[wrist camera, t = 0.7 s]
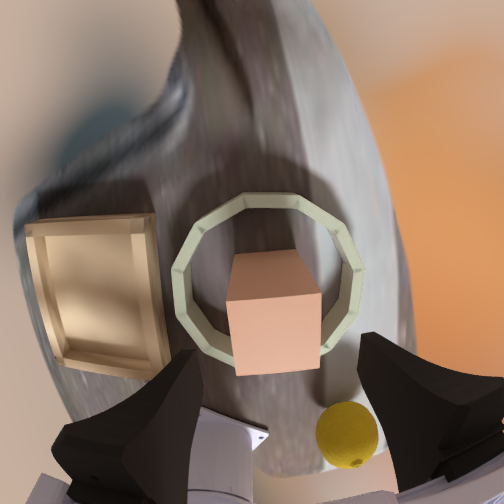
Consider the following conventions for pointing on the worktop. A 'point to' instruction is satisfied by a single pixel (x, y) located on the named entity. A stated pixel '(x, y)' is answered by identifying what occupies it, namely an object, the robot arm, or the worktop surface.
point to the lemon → (347, 434)
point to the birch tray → (101, 292)
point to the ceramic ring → (352, 264)
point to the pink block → (273, 313)
